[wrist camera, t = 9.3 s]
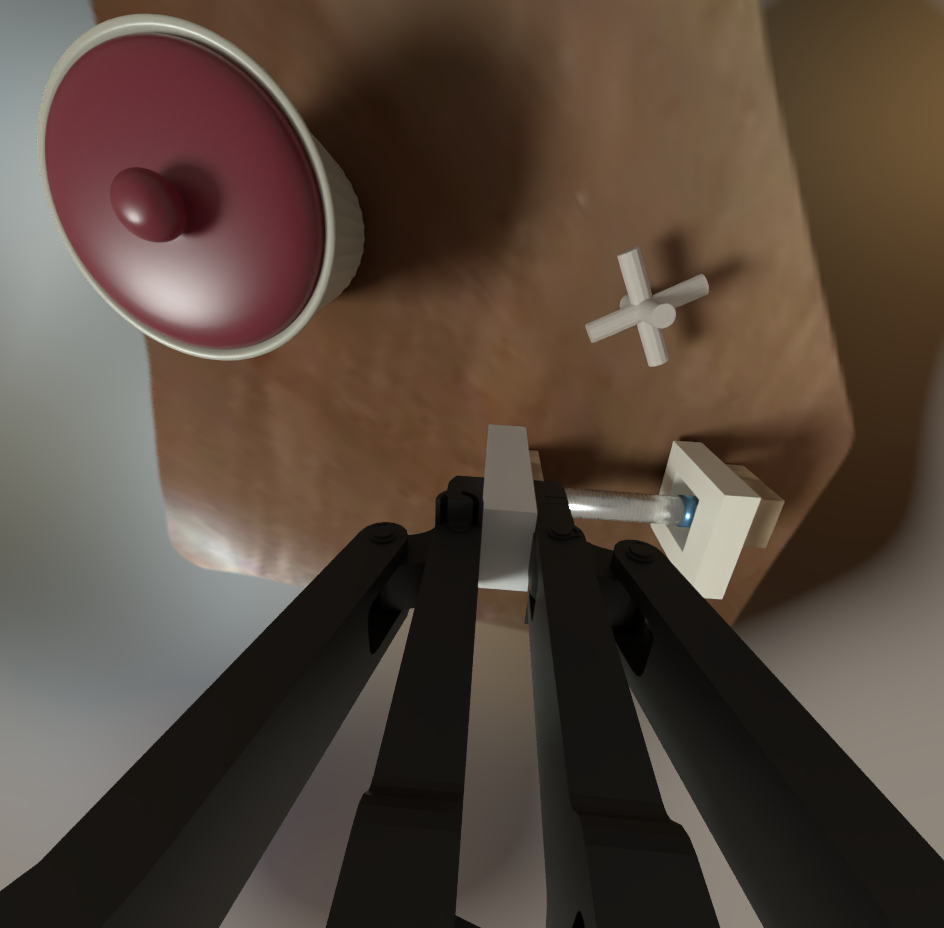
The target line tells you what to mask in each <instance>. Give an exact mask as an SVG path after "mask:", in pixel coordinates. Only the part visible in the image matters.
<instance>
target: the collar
mask: <svg viewBox="0 0 944 928" xmlns="http://www.w3.org/2000/svg"><path fill="white" fill-rule="evenodd" d="M659 495H672V496H678V495H692V496H696V497H697V498H698V499H699V503H698V506H697V509H696V512H695V515H694V518H693V522H692V525H691V528H686V527H678V526H676V525H666V524H653V523H651V528H652V529H653V531H654V533H655V535H656V537H657V538H658V540H659V542H660V544H661V546H662V548H663V549H664V551H665V553H666V555H667V557H668V558H669V560H670V562H671V563H672V564H673V565H674V566H675V567H676V568H677V569H678V570H679V571H680V572H681V574H682V575H683V576H684V577H685V578H686V579H687V580H688V581H689V582H690V583H691V584H692V586H693V587H694V588H695V589H696V590H697V591H698V592H699V593H700V594H701V595H702V597H703V598H712V599H722V598H723V596H724V593H725V591H726V588H727V585H728V583H729V580H730V578H731V575H732V572H733V570H734V567H735V565H736V562H737V560H738V557H739V554H740V552H741V549H742V547H743V544H744V542H745V539H746V536H747V534H748V531H749V529H750V526H751V524H752V521H753V518H754V516H755V513H756V511H757V508H758V506H759V503H760V500H761V497H760V496H759V495H758V494H757V493H756V492H754V491H753V490H752V489H751V488H750V487H749V486H748V485H747V484H746V483H745V482H744V481H743V480H742V479H740V478H739V477H738V476H737V475H736V474H735V473H734V472H733V471H732V470H731V469H730V468H729V467H727V466H726V465H725V464H724V463H723V462H722V461H721V460H720V459H719V458H718V457H717V456H716V455H715V454H713V453H712V452H711V451H710V450H709V449H708V448H707V447H706V446H705V445H704V444H703V443H700V442H685V441H673V445H672V448H671V452H670V456H669V459H668V463H667V467H666V471H665V474H664V478H663V482H662V485H661V489H660V493H659Z"/></svg>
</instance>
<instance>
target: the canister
mask: <svg viewBox="0 0 944 928" xmlns="http://www.w3.org/2000/svg"><path fill="white" fill-rule="evenodd" d="M37 151H38V162H39V169H40V176H41V180H42V185H43V190H44V193H45V197H46V201H47V204H48V207H49V210H50V213H51V215H52V218H53V221H54V223H55V225H56V227H57V230H58V232H59V234H60V236H61V239H62V241H63V242H64V244H65V246H66V248H67V250H68V252H69V253H70V255H71V257H72V258H73V260H74V262H75V263H76V265H77V266H78V268H79V269H80V271H81V272H82V274H83V275H84V276H85V278H86V279H87V280H88V282H89V283H90V284H91V285H92V286H93V288H94V289H95V290H96V291H97V293H98V294H99V295H100V296H101V297H102V298H103V299H104V300H105V301H106V302H107V303H108V304H109V305H110V306H111V307H112V308H113V309H114V310H115V311H116V312H117V313H118V314H119V315H121V316H122V317H123V318H124V319H125V320H126V321H128V322H129V323H130V324H132V325H133V326H134V327H136V328H137V329H138V330H140V331H141V332H143V333H144V334H146V335H147V336H149V337H151V338H152V339H154V340H156V341H158V342H160V343H162V344H164V345H166V346H168V347H170V348H172V349H175V350H177V351H180V352H183V353H186V354H189V355H192V356H196V357H201V358H206V359H213V360H242V359H248V358H253V357H257V356H260V355H263V354H266V353H268V352H271V351H273V350H275V349H277V348H279V347H281V346H282V345H284V344H286V343H287V342H288V341H290V340H291V339H292V338H294V337H295V336H296V335H297V334H298V333H299V332H300V331H301V330H302V329H303V328H304V327H305V326H306V325H307V324H308V323H309V321H310V320H311V319H312V317H313V316H314V314H315V313H317V312H318V311H319V310H321V309H322V308H323V307H325V306H326V305H327V304H329V303H330V302H332V301H333V300H334V299H335V298H337V297H338V296H339V295H340V294H341V293H342V292H343V290H344V289H345V288H347V287H348V286H349V284H350V282H351V280H352V278H353V277H354V276H355V275H356V271H357V269H358V267H359V265H360V264H361V257H362V254H363V252H364V250H363V245H364V241H365V237H364V227H365V226H364V223H363V219H362V211H361V209H360V206H359V203H358V197H357V196H356V195H355V193H354V191H353V188H352V184H351V183H350V181H349V180H348V179H347V178H346V176H345V174H344V171H343V170H342V168H341V167H340V166H339V165H338V164H337V163H336V161H335V160H334V159H333V158H332V156H331V155H330V154H329V153H328V152H327V150H326V149H325V148H324V147H323V146H322V145H321V143H320V142H319V141H318V140H317V139H316V138H315V137H314V136H313V135H312V134H311V133H310V131H309V129H308V127H307V125H306V123H305V122H304V120H303V118H302V116H301V115H300V113H299V112H298V110H297V109H296V107H295V106H294V104H293V103H292V101H291V100H290V99H289V97H288V96H287V95H286V93H285V92H284V91H283V89H282V88H281V87H280V86H279V85H278V83H277V82H276V81H275V80H274V79H273V78H272V77H271V76H270V75H269V74H268V73H267V72H266V70H265V69H263V68H262V67H261V66H260V65H259V64H258V63H257V62H256V61H255V60H254V59H253V58H251V57H250V56H249V55H248V54H246V53H245V52H244V51H243V50H241V49H240V48H239V47H237V46H236V45H234V44H233V43H231V42H230V41H228V40H227V39H225V38H224V37H222V36H220V35H219V34H217V33H215V32H213V31H211V30H209V29H207V28H205V27H203V26H200V25H198V24H195V23H193V22H190V21H187V20H184V19H180V18H176V17H172V16H166V15H159V14H133V15H126V16H121V17H117V18H114V19H110V20H108V21H105V22H103V23H101V24H99V25H97V26H95V27H93V28H91V29H90V30H88V31H87V32H85V33H84V34H83V35H82V36H80V37H79V38H78V39H77V40H76V41H75V42H74V43H73V44H71V46H70V47H69V48H68V49H67V50H66V51H65V53H64V54H63V55H62V56H61V58H60V59H59V61H58V62H57V64H56V66H55V67H54V69H53V71H52V73H51V75H50V78H49V80H48V82H47V85H46V88H45V91H44V94H43V97H42V101H41V106H40V112H39V118H38V129H37Z"/></svg>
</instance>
